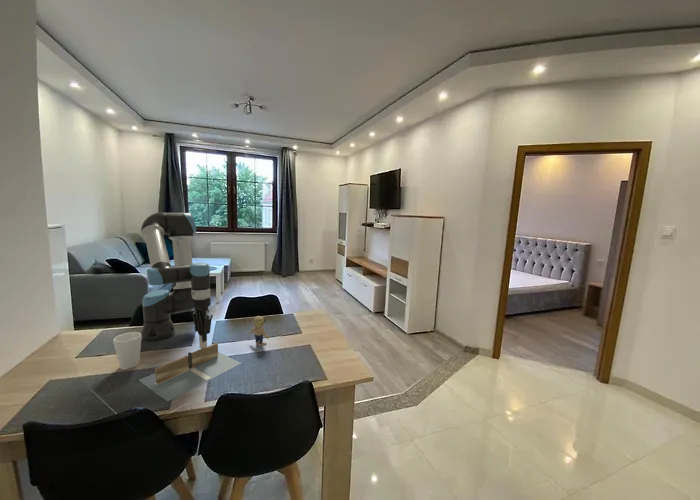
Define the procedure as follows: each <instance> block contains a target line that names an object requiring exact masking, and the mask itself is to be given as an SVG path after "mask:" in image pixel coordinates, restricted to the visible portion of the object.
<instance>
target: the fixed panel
mask: <svg viewBox="0 0 700 500" xmlns="http://www.w3.org/2000/svg"><path fill="white" fill-rule="evenodd" d="M154 370H155V372H154V373H155V374H156V383H157V384H159V383H161V382H163V381H165V380H167V379H170V378H172V377H174V376H176V375H178V374H181V373H183V372H185V371H187V370H189V365H188V355H184V356H183V357H180V358H177V359H175V360H172V361H170V362H168V363H165V364H162V365H160V366H158V367H155V369H154Z"/></svg>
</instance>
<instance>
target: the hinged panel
mask: <svg viewBox="0 0 700 500" xmlns="http://www.w3.org/2000/svg"><path fill="white" fill-rule="evenodd" d="M218 352H219V343H218V342H214V343H212V344H210V345H207V347H205V348H202V349H200V348H199V349H198V350H195V351H193V352H191V351H190V352H188V353H187V356H188V364H189V368H192V367H195V366H197V365H199V364H201V363H203V362H206V361H208V360H210V359H212V358H214V357H217V356H218Z"/></svg>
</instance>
